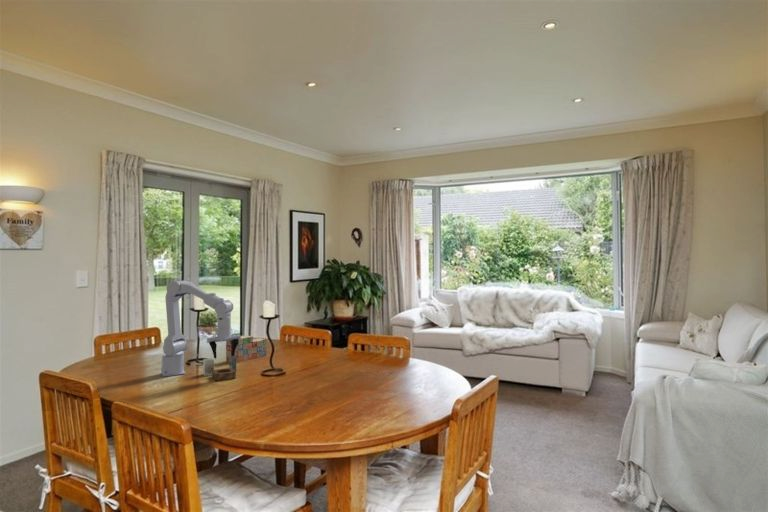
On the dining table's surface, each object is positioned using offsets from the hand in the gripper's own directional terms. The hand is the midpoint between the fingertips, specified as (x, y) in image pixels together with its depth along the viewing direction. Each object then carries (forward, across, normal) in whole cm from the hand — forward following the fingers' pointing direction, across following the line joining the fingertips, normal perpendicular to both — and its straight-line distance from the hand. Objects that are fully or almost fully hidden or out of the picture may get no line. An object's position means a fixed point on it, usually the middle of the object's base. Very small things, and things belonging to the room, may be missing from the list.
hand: (223, 356), depth 197 cm
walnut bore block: (+9, 0, 0) cm, 9 cm away
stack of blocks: (+10, +18, +31) cm, 38 cm away
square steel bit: (+9, -5, +9) cm, 14 cm away
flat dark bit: (+10, +6, +9) cm, 14 cm away
